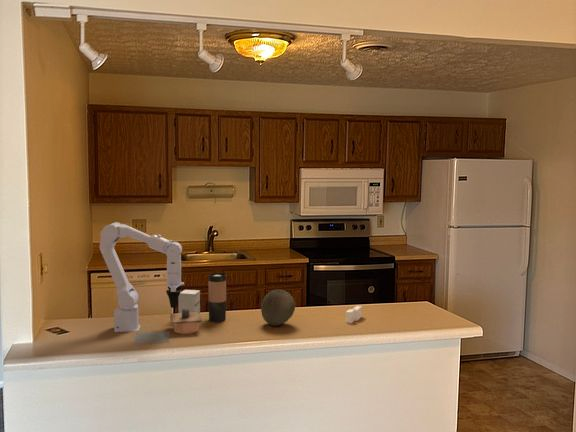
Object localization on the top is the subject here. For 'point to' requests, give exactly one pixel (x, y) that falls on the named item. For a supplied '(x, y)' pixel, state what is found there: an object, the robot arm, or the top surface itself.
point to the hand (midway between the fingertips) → (174, 305)
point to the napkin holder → (353, 314)
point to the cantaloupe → (277, 307)
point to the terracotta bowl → (186, 328)
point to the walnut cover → (185, 317)
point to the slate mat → (151, 337)
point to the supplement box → (189, 300)
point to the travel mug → (217, 297)
